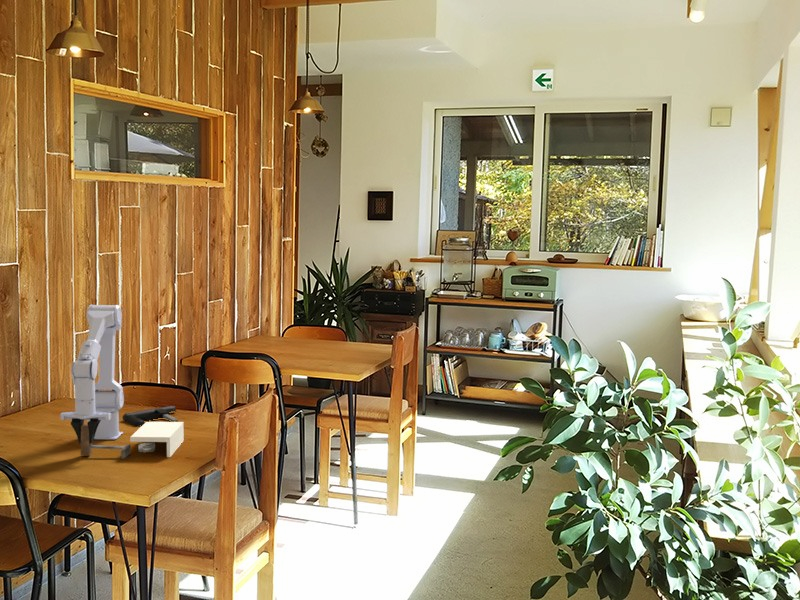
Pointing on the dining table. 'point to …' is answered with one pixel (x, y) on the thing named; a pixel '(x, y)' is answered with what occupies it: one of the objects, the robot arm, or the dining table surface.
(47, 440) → the dining table surface
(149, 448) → the grey round disc
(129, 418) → the door handle
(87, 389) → the robot arm
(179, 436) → the white bridge block
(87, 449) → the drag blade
